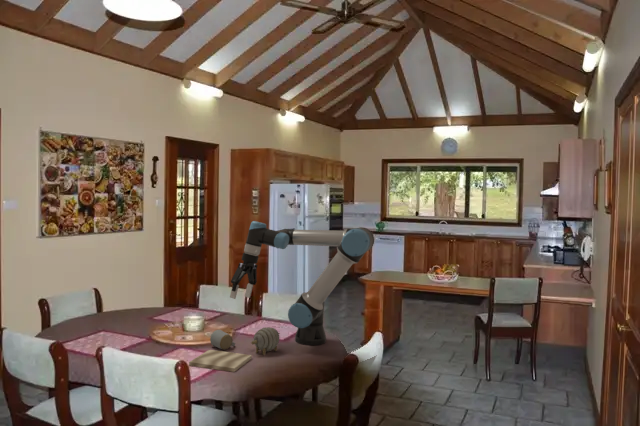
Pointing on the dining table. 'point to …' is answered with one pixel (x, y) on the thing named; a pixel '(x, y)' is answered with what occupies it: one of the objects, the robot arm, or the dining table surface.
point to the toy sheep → (266, 339)
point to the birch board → (220, 360)
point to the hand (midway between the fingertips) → (240, 297)
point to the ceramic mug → (221, 340)
